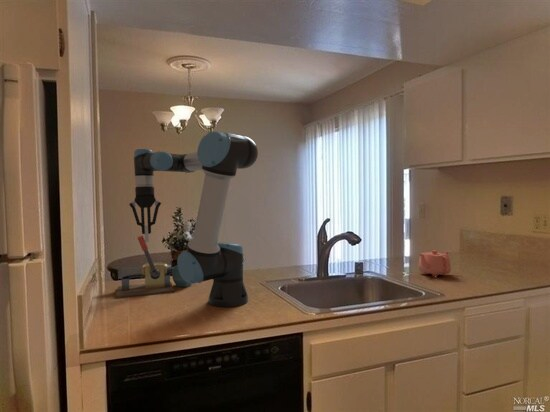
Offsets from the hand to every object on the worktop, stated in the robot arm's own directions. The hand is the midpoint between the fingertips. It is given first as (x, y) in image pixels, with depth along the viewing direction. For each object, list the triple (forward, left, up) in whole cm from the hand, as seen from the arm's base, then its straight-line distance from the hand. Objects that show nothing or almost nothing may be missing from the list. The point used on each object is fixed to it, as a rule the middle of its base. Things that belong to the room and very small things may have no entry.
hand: (146, 241), depth 154 cm
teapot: (-21, -138, -23) cm, 141 cm away
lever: (0, +1, -8) cm, 8 cm away
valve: (+6, +1, -21) cm, 22 cm away
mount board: (+5, +1, -22) cm, 23 cm away
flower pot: (+7, -16, -23) cm, 29 cm away
